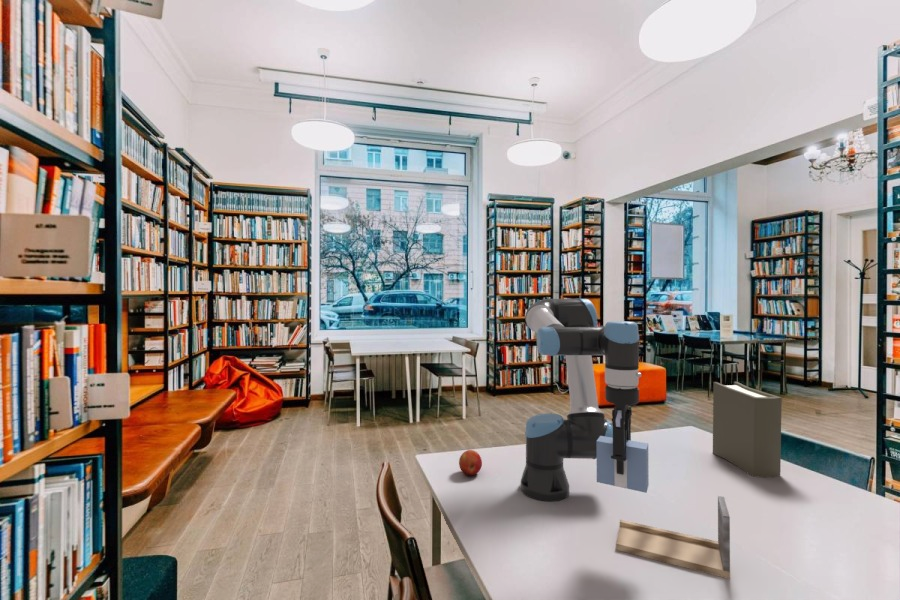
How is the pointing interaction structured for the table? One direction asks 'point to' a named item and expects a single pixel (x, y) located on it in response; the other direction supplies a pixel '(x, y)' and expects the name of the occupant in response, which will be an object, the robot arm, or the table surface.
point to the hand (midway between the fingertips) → (622, 481)
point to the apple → (470, 462)
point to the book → (747, 428)
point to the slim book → (635, 463)
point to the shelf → (680, 545)
